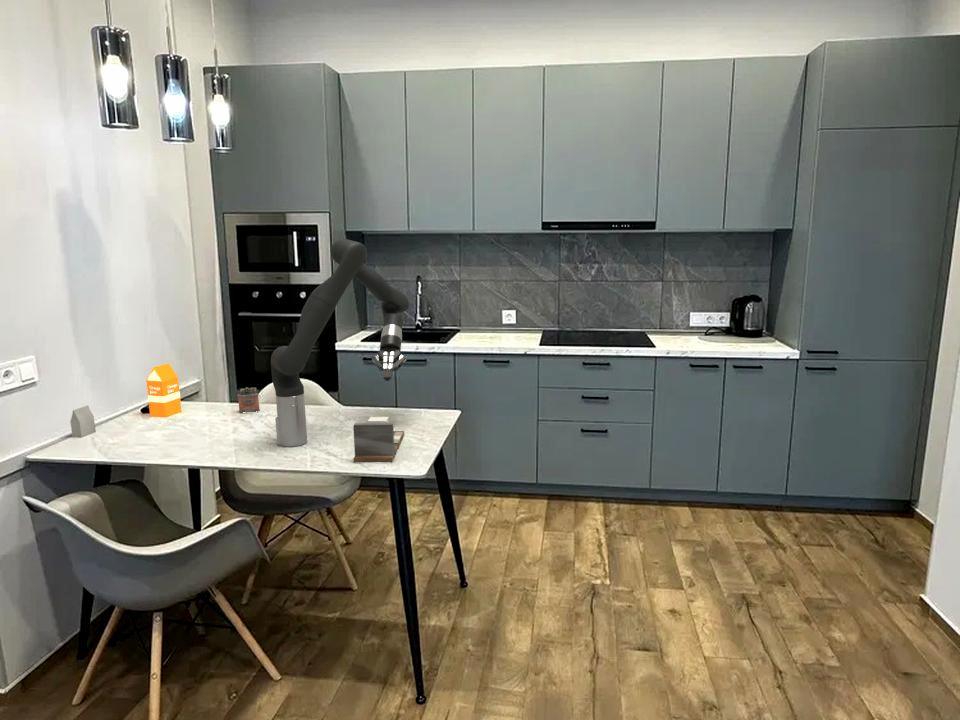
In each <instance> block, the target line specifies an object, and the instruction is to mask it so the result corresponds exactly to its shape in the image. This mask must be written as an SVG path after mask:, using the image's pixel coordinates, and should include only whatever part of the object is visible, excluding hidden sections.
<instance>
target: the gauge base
mask: <svg viewBox="0 0 960 720" xmlns="http://www.w3.org/2000/svg"><path fill="white" fill-rule="evenodd" d="M352 428H353V446H354V448H353V449H354V457H353V463H354V462H390V463H393V461H394V460H393V459H395V457H396V454H397V452H398V451H397V450H399V449H400V446H401V444H402V442H401V441H403V439H404V437H405V430H394V422H392V421H389V422H368V421H366V422H365V421H363V422H362V421H361V422H354V423H353V427H352ZM394 443H398V444H394Z"/></svg>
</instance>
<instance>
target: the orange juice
mask: <svg viewBox="0 0 960 720" xmlns="http://www.w3.org/2000/svg"><path fill="white" fill-rule="evenodd" d="M179 383H180V382H179V376H178V375H177V373H176V372H175V371H174V368H173V367H172V366H171V364H170V363H163V364H160V365H156V366H152V369H151V371H150V373H149V375H148V376H147V379H146V389H147V400H148V409H149V416H150V417H155V418H168V417H171V416H174V415H177V414H179V413H182V404H181V403H182V402H181V401H182V400H181V392H180V384H179Z"/></svg>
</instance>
